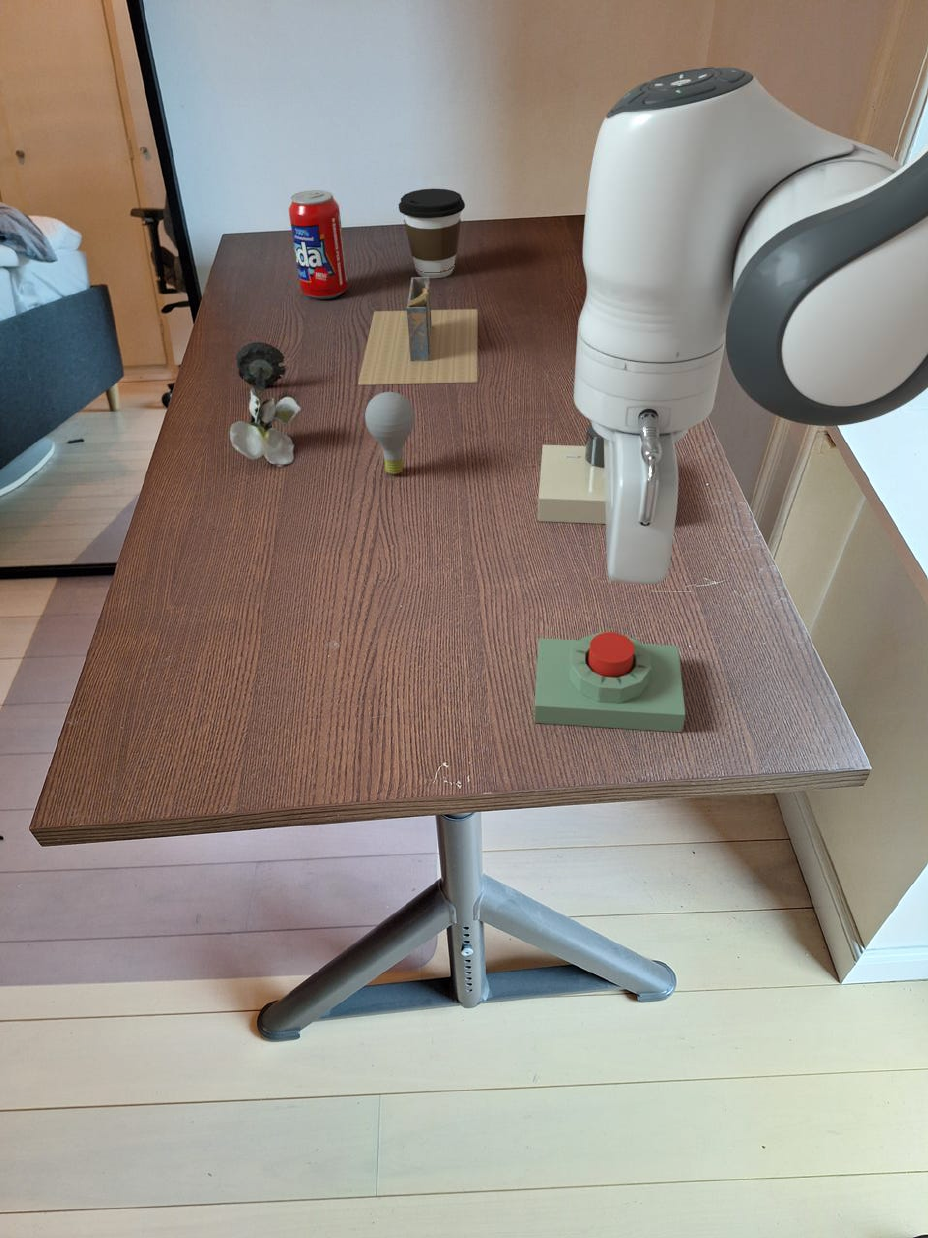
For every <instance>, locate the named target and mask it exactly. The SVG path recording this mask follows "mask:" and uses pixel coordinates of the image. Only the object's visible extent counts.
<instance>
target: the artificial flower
mask: <svg viewBox="0 0 928 1238" xmlns="http://www.w3.org/2000/svg"><path fill="white" fill-rule="evenodd" d="M285 358H286V356H285V355H284V354H283V353H282V352H281V351H280V349H278V348H277V347H276V346H273V345H271V344H269V343H267V342H262V341H258V342H257V341H256V342H251V343H247V344H245V346H243V347H242V348H241V349H240V350H238V352H237V354H236V358H235V360H236V366H237V369H238V370H237V374H238V376H239V377H240V378H241V380H243V381H244V382H246V383H247V384H248V385H250V386H253V387H251V388H250V390H249V391H250V392H249V393H250V400H249V403H248V410H249V413H250V414H251V415H250V421H249V422H248V423H247V422H245V421H243V420H242V421H239V420H238V421H234V422H233V423H232V424H231V425H230V430H229V439H230V443H231V445H232V447H234V449H235V450H236V451H237V452H239V453H240V454H241V455H243V456H245V457H246V458H247V459H248V460H257V459H259V458H261V457H262V456H264V457H265V459H266V460H267V462H269V463H270V464H272V465H276V467H279V468H281V467H282V468H283V467H284V466H285V465H291V463H293V461H294V458H295V456H294V448H295V445H294V443H293V441H292V439H291V437H290V436H289V435H288V434H285V433H283V432H282V431H281V430H278V429H279V428H278V427H277V428H276V427H273V424H274V422H276V423H277V424H278V425H279V426H282V427H287V426H288V425H290V424H292V422H293V420H294V419H295V417H296V415H297V414H298V413H299V412H300V411H301V410H302V408H301V406H300V405H298V403H297V402H296V400H295V399H294V398H293V397H291V396H285V397H283V398H281V399H280V400H279V401H278V402H277V403H275V398H274V397H271V400H270V399H268V398H267V399H265V400H263V402H262V403H261V399H262V393H263V392H264V390H265V388H266V386H274V385H275V384H276V383H277V382H278V381H279V380H281V379H282V377H283V376H285V374H286V372H287V369H286V366H285V365H282V366H280V364H282V363H283V364H284V363H285ZM255 388H257V392H256V391H255Z"/></svg>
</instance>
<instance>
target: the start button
mask: <svg viewBox="0 0 928 1238" xmlns="http://www.w3.org/2000/svg"><path fill="white" fill-rule="evenodd" d="M605 632H606V631H605ZM619 633H620V632H614V631H607V632H606V633H601V634H599V635H597V636H595V637H594V638H593V639H592V640H591V642H590V649H589V659H588V662H589V666H590V667H591V669H592V670H593V671H594V672H595V673H597V674H599V675H601V676H604V677H613V678H617V677H621V676H624V675H625V674H627V673H628V672H629V671H630V670H631V668H632V664H633V657H634V650H635V648H634V645H633V643H632V641H631V640H630V639H629V638H627V637H626V636H627V635H625V634H623V633H620V634H619ZM622 634H623V635H622ZM624 635H625V636H624Z"/></svg>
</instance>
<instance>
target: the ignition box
mask: <svg viewBox="0 0 928 1238" xmlns="http://www.w3.org/2000/svg"><path fill="white" fill-rule="evenodd" d="M601 633H606V631H604V632H603V631H600V632H599V631H598V632H595V633H592V634H589V635H585V636H584V637H581V638H580V639H564V638H563V639H562V638H546V637H545V638H543V637H539V638H538V648H537V665H536V677H535V678H536V680H535V696H534V709H533V710H534V711H533V713H534V715H533V723H534V724H546V725H561V726H576V727H592V728H606V729H608V728H609V729H621V730H623V729H624V730H637V731H639V730H640V731H653V732H668V733H670V732H671V733H682V732H683V729H684V724H685V719H686V706H685V697H684V688H683V680H682V679H683V678H682V670H681V661H680V651H679V646H678V645H672V644H657V643H655V644H652V643H641V642H640V641H639V640H637V639H634V638H633V637H630V636H628V635H625V634H624V633H620V632H618V633H619V634H622V635H624V636H626V637H627V638H629V639H630V640H631V641H632V643H633V645H634V648H635V650H634V657H633V664H632V668H631V670H630V671H629V672H628V673H627V674H625V675H624V676H621V677H617V678H613V677H604V676H601V675H599V674H597V673H595V672H594V671H593V670H592V669H591V667H590V666H589V662H588V659H589V649H590V642H591V640H592V639H593V638H594V637H595V636H597V635H599V634H601Z"/></svg>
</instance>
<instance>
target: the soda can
mask: <svg viewBox="0 0 928 1238" xmlns="http://www.w3.org/2000/svg"><path fill="white" fill-rule="evenodd" d="M290 201H291V203H290V205H289V207H288V216H289V223H290V229H291V230H290V231H291V236H292V241H293V248H294V249H293V250H294V255H295V261H296V267H297V273H298V279H299V280H298V281H299V286H300V291H301V292H302V293H303V294H304V295H306V296H307V297H310V298H313V299H316V300H328V299H334V298H336V297H339V296H341V295H342V294H343V293H345V292H346V291H347V290H348V288H349V277H348V269H347V261H346V252H345V245H344V235H343V228H342V227H343V226H342V217H341V211H340V206H339V203H338V202H337V201H336V200H335V198H334V193H332V192H331V191H329V190H323V189H322V190H321V189H313V190H311V189H310V190H304V191H300V192H299V191H298V192H297V193H295V194H292V196H291V197H290Z"/></svg>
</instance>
